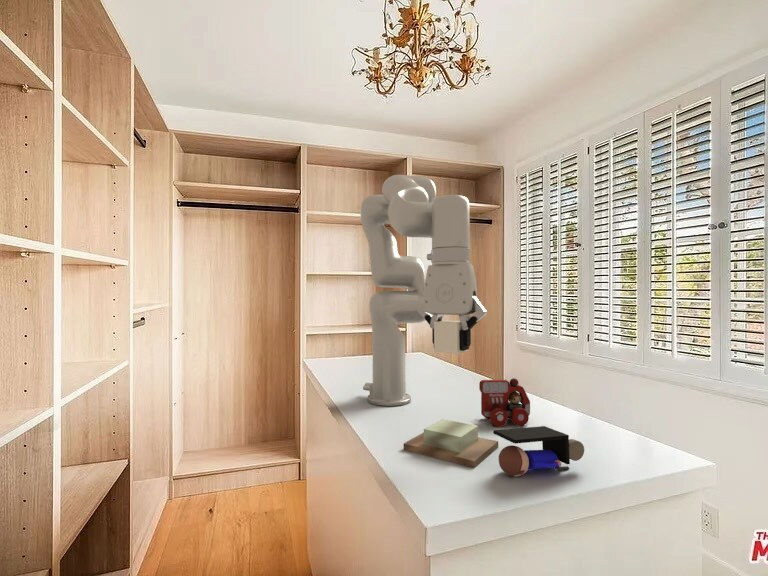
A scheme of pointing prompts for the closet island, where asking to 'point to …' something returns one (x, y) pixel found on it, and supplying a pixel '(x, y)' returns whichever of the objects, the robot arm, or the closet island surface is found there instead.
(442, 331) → the cream block
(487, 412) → the toy fire truck
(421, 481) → the closet island surface
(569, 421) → the closet island surface
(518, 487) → the closet island surface
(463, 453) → the base
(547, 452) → the figurine character
